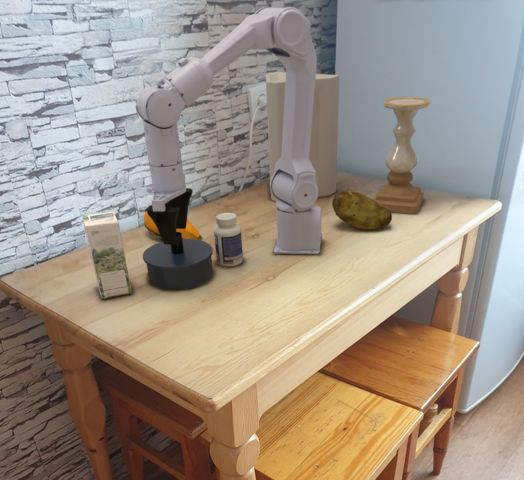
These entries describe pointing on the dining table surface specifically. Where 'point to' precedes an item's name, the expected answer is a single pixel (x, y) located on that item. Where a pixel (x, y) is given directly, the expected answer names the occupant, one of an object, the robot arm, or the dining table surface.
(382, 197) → the candle holder
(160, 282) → the pot
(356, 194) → the potato
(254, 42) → the robot arm
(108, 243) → the syrup box
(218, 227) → the pill bottle
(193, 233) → the corn
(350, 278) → the dining table surface
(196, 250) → the lid
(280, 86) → the paper bag
